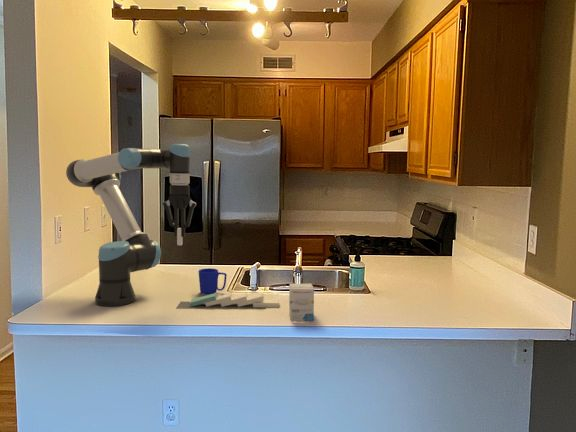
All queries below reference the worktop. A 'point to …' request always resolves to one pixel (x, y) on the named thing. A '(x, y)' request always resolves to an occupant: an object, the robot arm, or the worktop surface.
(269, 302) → the domino
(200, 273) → the mug
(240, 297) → the domino
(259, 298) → the domino
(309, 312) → the ink box
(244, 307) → the mat
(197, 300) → the green domino
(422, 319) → the worktop surface
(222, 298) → the domino
